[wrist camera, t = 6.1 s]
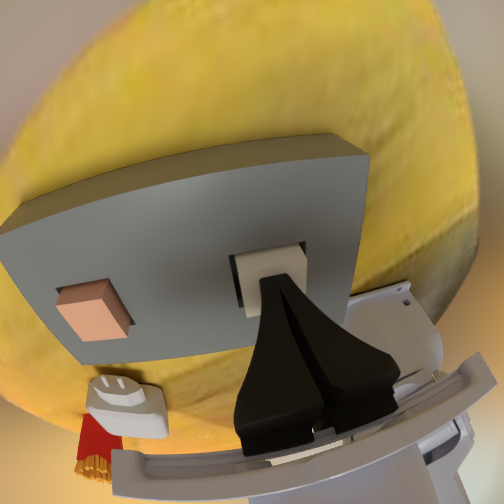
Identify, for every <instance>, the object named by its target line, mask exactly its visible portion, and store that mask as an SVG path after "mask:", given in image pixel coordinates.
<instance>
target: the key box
mask: <svg viewBox="0 0 504 504" xmlns="http://www.w3.org/2000/svg"><path fill="white" fill-rule="evenodd" d="M369 159H370V155H369V154H368V153H366V152H364V151H363V150H361V149H359V148H358V147H356V146H354V145H352V144H351V143H349V142H347V141H345V140H344V139H342V138H340V137H338V136H336V135H334V134H316V135H302V136H291V137H281V138H272V139H263V140H256V141H248V142H241V143H235V144H228V145H222V146H217V147H211V148H205V149H200V150H195V151H190V152H185V153H181V154H176V155H172V156H167V157H163V158H159V159H155V160H151V161H147V162H143V163H139V164H135V165H132V166H128V167H125V168H121V169H118V170H114V171H111V172H108V173H104V174H101V175H98V176H95V177H92V178H89V179H86V180H83V181H80V182H77V183H74V184H72V185H69V186H66V187H63V188H61V189H58V190H55V191H53V192H50V193H48V194H45V195H43V196H40V197H38V198H36V199H33V200H31V201H29V202H26V203H24V204H22V205H20V206H19V207H18V208H17V209H16V210H15V211H14V212H13V213H12V214H11V215H10V216H9V217H8V218H7V220H6V221H5V222H4V223H3V224H2V225H1V226H0V261H1V262H2V264H3V266H4V267H5V269H6V271H7V272H8V274H9V275H10V277H11V279H12V280H13V282H14V283H15V285H16V286H17V288H18V289H19V291H20V292H21V293H22V295H23V296H24V298H25V299H26V300H27V302H28V303H29V304H30V306H31V307H32V308H33V310H34V311H35V312H36V314H37V315H38V316H39V318H40V319H41V320H42V321H43V323H44V324H45V325H46V326H47V327H48V329H49V330H50V331H51V332H52V333H53V334H54V336H55V337H56V338H57V339H58V340H59V341H60V342H61V344H62V345H63V346H64V347H65V348H66V349H67V350H68V351H69V352H70V353H71V354H72V355H73V356H74V357H75V358H76V360H77V361H78V362H79V363H80V364H81V365H101V364H119V363H132V362H144V361H154V360H163V359H172V358H180V357H187V356H195V355H201V354H208V353H214V352H220V351H226V350H232V349H237V348H243V347H248V346H253V345H256V340H257V335H258V330H259V323H260V315H258V316H253V317H248V318H247V317H246V312H245V308H244V303H243V298H242V293H241V288H240V284H239V279H238V273H237V268H236V262H235V257H234V254H238V253H243V252H248V251H254V250H259V249H264V248H270V247H275V246H280V245H286V244H291V243H296V242H298V243H299V245H300V247H301V249H302V251H303V253H304V254H305V256H306V258H307V279H306V296H307V297H308V298H309V299H310V300H311V301H312V302H313V303H314V304H315V305H316V306H317V307H318V308H319V309H320V310H321V311H322V312H323V313H324V314H326V315H327V316H328V317H329V318H330V319H332V320H333V321H334V322H335V323H337V324H338V325H340V324H343V322H344V318H345V314H346V310H347V305H348V301H349V296H350V292H351V287H352V282H353V277H354V272H355V267H356V261H357V256H358V250H359V244H360V238H361V231H362V224H363V217H364V209H365V201H366V192H367V183H368V172H369ZM105 278H109V279H110V281H111V283H112V285H113V286H114V288H115V290H116V292H117V293H118V295H119V297H120V299H121V300H122V302H123V304H124V305H125V307H126V309H127V310H128V312H129V314H130V315H131V318H130V325H129V332H128V338H118V339H108V340H98V341H86V342H83V341H82V339H81V338H80V337H79V336H78V335H77V333H76V332H75V331H74V330H73V328H72V327H71V326H70V325H69V323H68V322H67V321H66V320H65V318H64V317H63V316H62V314H61V313H60V312H59V310H58V309H57V308H56V306H55V305H56V303H57V300H58V298H59V295H60V293H61V291H62V288H63V286H69V285H74V284H79V283H84V282H90V281H95V280H100V279H105Z"/></svg>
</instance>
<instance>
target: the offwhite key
mask: <svg viewBox="0 0 504 504" xmlns="http://www.w3.org/2000/svg"><path fill="white" fill-rule="evenodd" d="M234 257H235V262H236V268H237V273H238V279H239V284H240V288H241V293H242V298H243V303H244V308H245V312H246V317H247V318H248V317H253V316H258V315H261V293H260V284H259V280H260V279H261V278H264V277H269V276H274V275H279V274H284V273H287V274H288V275H289V276H290V277H291V279H292V280H293V281H294V282H295V284H296V285H297V286H298V287H299V288H300V289H301V291H302V292H303V293H304V294H305V295H306V279H307V258H306V256H305V254H304V253H303V251H302V249H301V247H300V245H299V243H298V242H296V243H291V244H286V245H280V246H275V247H270V248H264V249H259V250H254V251H248V252H243V253H238V254H234Z"/></svg>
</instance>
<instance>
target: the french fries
mask: <svg viewBox="0 0 504 504" xmlns="http://www.w3.org/2000/svg"><path fill="white" fill-rule="evenodd" d="M112 449H120V450H123V446H122V436H118V435H113V434H110V433H109V432H107V431H106V430H105V429H104V428H103V427H102V426H101V425H100V424H99V423H98V421H97V420H96V419H95V418H94V417H93V416H92V415H91V414H84V418H83V423H82V428H81V434H80V441H79V446H78V453H77V460H78V461H77V464H76V467H75V473H76V474H78V475H80V476H83V477H84V478H85V479H88V480H91V478H93V480H95V481H97V482H100V481H101V482H103V483H104V482H106V483H107V482H109V483H110V484H112V469H111V450H112Z"/></svg>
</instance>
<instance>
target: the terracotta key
mask: <svg viewBox="0 0 504 504" xmlns="http://www.w3.org/2000/svg"><path fill="white" fill-rule="evenodd" d="M55 306H56V308H57V309H58V310H59V312H60V313H61V314H62V316H63V317H64V318H65V320H66V321H67V322H68V323H69V325H70V326H71V327H72V328H73V330H74V331H75V332H76V333H77V335H78V336H79V337H80V338H81V339H82V341H83V342H86V341H98V340H108V339H118V338H128V332H129V325H130V318H131V315H130V314H129V312H128V310H127V309H126V307H125V305H124V304H123V302H122V300H121V299H120V297H119V295H118V293H117V292H116V290H115V288H114V286H113V285H112V283H111V281H110V279H109V278H105V279H100V280H95V281H90V282H84V283H79V284H74V285H69V286H63V288H62V291H61V293H60V295H59V298H58V300H57V303H56V305H55Z"/></svg>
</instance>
